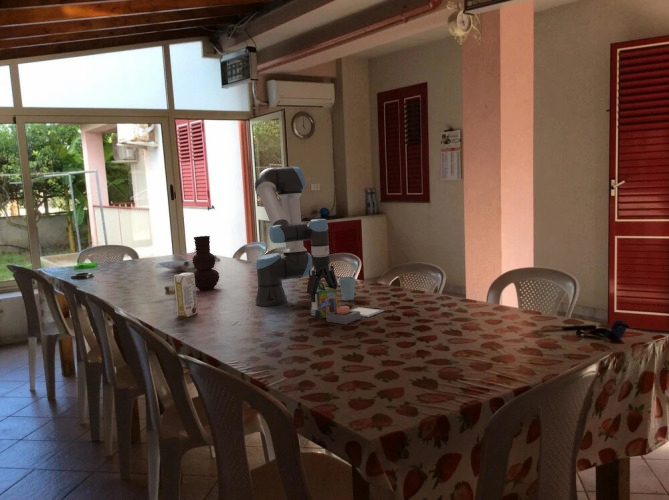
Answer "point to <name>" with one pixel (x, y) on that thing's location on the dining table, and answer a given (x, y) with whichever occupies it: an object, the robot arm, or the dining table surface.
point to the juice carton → (185, 294)
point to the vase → (204, 265)
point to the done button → (342, 310)
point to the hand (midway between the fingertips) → (323, 306)
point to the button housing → (343, 317)
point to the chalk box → (324, 301)
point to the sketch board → (367, 311)
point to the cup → (347, 287)
